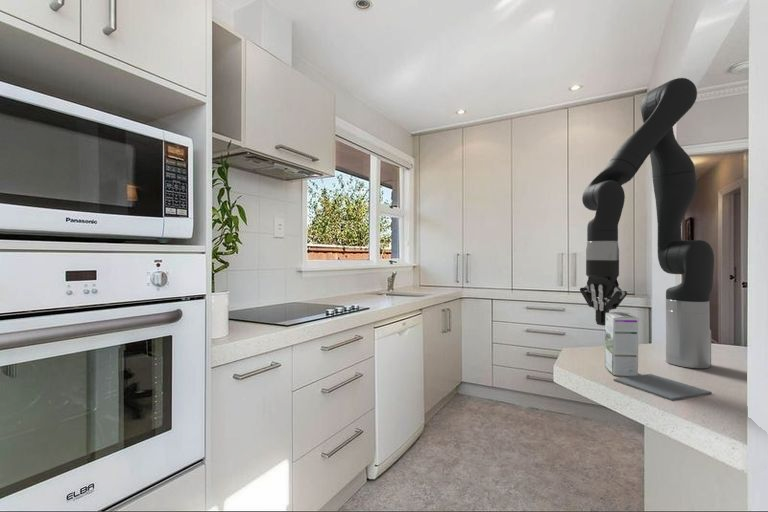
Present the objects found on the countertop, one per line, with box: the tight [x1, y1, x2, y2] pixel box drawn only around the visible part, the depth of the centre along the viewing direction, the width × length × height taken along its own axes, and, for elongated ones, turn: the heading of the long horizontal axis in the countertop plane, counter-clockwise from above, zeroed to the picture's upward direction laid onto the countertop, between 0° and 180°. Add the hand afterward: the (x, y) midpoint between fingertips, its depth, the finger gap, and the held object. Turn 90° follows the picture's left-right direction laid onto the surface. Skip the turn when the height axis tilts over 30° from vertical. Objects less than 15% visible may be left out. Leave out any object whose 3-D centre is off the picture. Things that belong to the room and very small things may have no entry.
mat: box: [613, 373, 712, 401], centre depth 84 cm, size 12×13×1 cm
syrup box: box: [604, 311, 640, 377], centre depth 94 cm, size 6×6×14 cm
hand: (602, 324), depth 100 cm, fingers closed
